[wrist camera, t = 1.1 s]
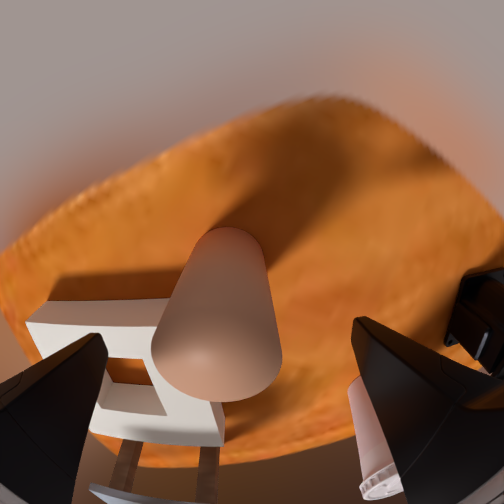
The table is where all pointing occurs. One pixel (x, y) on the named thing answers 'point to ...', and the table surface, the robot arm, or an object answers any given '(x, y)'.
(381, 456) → the smoothie
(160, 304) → the socket board
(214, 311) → the peg
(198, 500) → the grey arch
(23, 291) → the table surface
